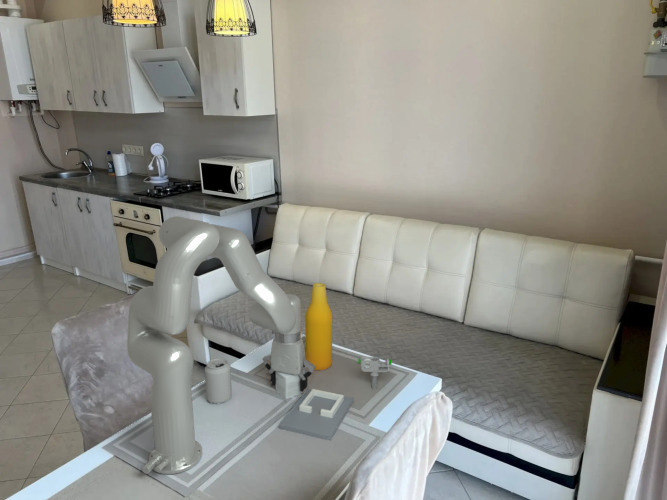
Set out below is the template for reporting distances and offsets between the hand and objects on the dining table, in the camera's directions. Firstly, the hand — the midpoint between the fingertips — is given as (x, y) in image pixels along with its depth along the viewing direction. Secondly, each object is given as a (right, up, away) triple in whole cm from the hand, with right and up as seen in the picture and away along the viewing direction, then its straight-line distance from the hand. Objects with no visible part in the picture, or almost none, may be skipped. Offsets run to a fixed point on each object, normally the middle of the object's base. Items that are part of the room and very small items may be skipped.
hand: (288, 386), depth 151 cm
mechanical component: (+27, -2, +3) cm, 27 cm away
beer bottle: (+9, +2, +18) cm, 20 cm away
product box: (0, -2, 0) cm, 2 cm away
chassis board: (+9, -5, -11) cm, 15 cm away
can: (-21, -3, -4) cm, 21 cm away
